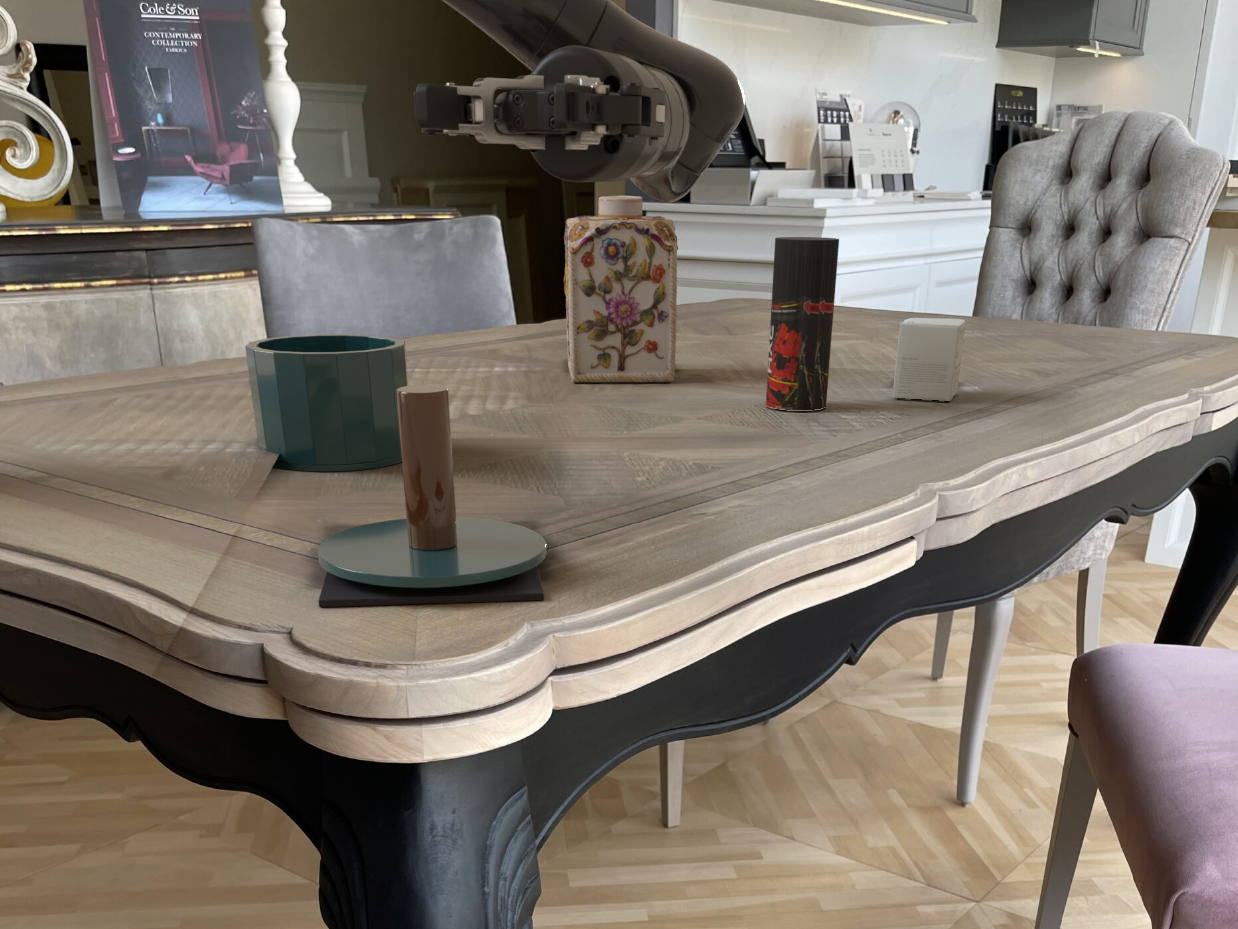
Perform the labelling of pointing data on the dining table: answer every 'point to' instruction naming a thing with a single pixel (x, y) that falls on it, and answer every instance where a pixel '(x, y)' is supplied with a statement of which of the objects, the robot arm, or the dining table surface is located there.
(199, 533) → the dining table surface
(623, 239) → the decorative jar
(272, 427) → the canister
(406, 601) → the mat
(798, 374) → the deodorant
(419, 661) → the dining table surface
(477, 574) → the lid
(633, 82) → the robot arm
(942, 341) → the product box
